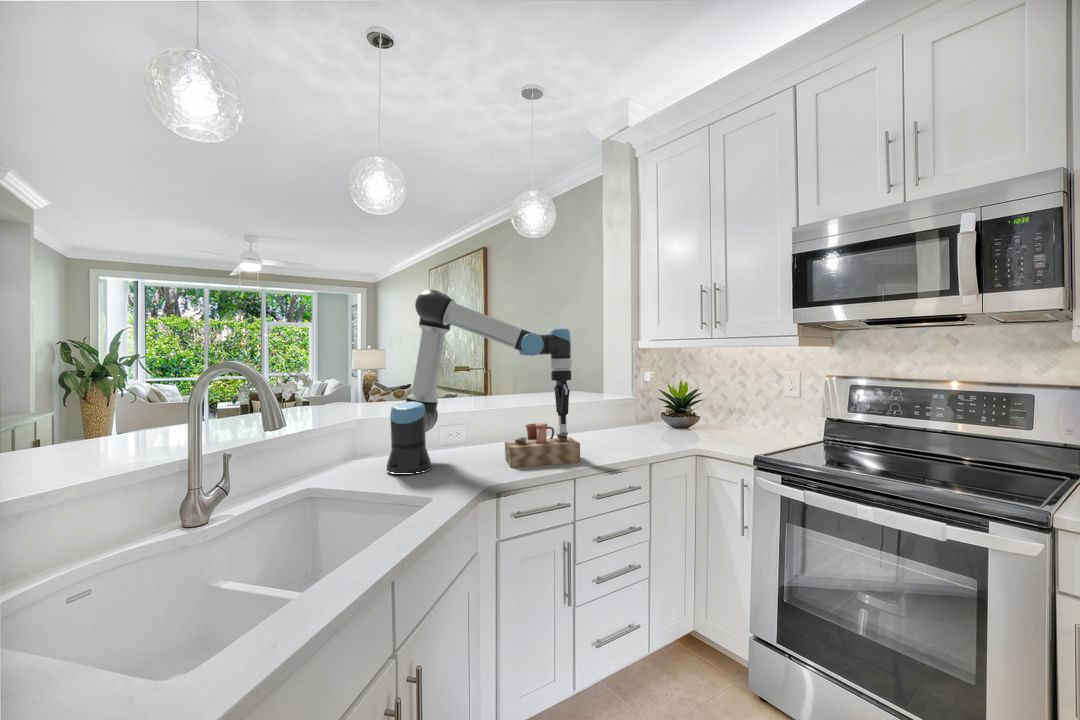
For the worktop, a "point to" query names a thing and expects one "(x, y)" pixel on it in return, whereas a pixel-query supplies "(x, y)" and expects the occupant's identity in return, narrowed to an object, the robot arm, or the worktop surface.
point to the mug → (535, 431)
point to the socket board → (542, 452)
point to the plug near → (520, 440)
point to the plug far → (562, 437)
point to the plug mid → (541, 433)
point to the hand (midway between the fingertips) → (562, 432)
